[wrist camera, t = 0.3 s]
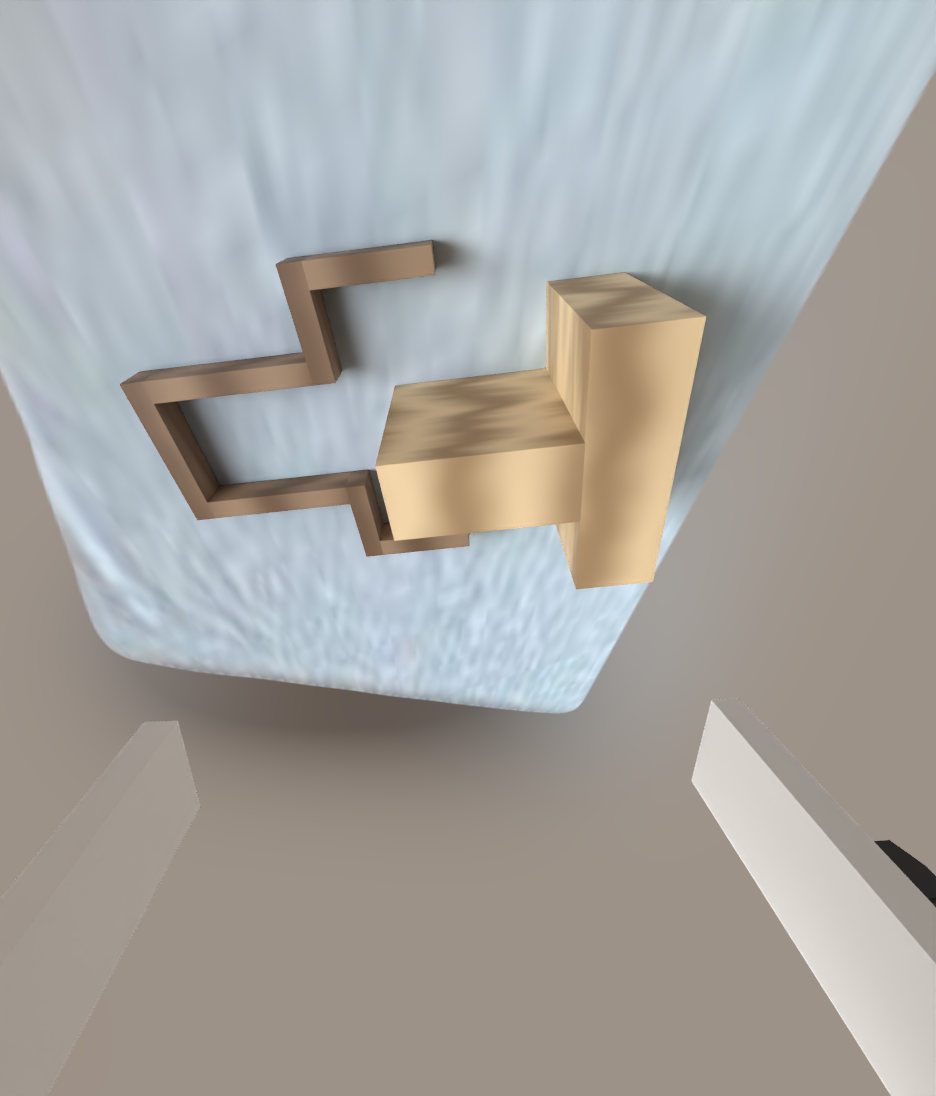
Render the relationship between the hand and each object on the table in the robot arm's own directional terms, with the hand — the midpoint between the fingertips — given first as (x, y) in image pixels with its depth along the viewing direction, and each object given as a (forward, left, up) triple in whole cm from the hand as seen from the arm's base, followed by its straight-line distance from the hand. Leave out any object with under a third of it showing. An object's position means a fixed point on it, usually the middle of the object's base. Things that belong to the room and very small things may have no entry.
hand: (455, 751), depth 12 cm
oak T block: (-2, +4, -28) cm, 28 cm away
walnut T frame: (+10, -3, -28) cm, 30 cm away
